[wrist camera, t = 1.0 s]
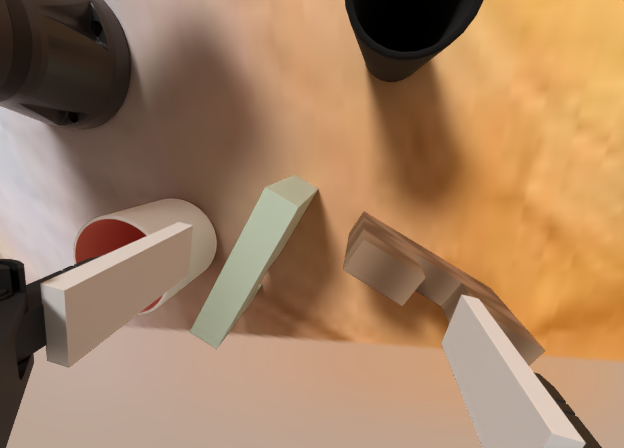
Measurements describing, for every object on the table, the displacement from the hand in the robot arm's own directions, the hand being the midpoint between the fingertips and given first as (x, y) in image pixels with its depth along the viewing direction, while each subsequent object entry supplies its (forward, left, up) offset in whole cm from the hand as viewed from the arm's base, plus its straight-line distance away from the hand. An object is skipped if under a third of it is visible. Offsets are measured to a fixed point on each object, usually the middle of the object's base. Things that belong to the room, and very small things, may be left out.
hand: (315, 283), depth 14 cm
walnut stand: (+10, -1, -19) cm, 21 cm away
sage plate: (-5, -8, -19) cm, 21 cm away
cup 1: (-15, -14, -19) cm, 28 cm away
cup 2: (-4, +15, -19) cm, 25 cm away
